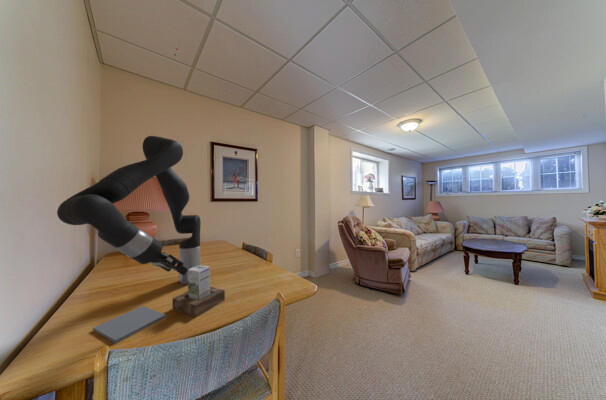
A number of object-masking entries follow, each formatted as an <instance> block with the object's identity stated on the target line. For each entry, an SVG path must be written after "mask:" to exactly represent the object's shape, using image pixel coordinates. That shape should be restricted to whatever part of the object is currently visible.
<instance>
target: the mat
mask: <svg viewBox="0 0 606 400" xmlns="http://www.w3.org/2000/svg"><path fill="white" fill-rule="evenodd" d="M163 319H167V314H165V313H162V312H160V311H157V310H155V309H152V308H149V307H147V306H145V305H143V306H140V307H138V308H135V309H133V310H130V311H129V312H126V313H123V314H122V315H119V316H117V317H114V318H112V319H109V320H107V321H105V322H102V323H100V324H97V325H95V326H93V327H92V331H93V330H94V331H96V332H98V333H99V334H101V335H103V336H104V337H106V338H107V339H106V338H105V339H106V340H108V339H109V340H110V342H111V341H112V342H111V343H113V344H115V345H116V344H118V343H120V342H122V341H123V339H124V340H125V338H126V339H127V338H130V337H131V336H133V335H135V334H137V333H139V332H140V331H143V330H145V329H147V328H149V327H151V326H152V325H154V324H156V323H158V322H160V321H162V320H163ZM94 331H93V332H94ZM96 332H95V333H96ZM98 333H97V334H98ZM99 334H98V335H99ZM101 335H100V336H101ZM103 336H102V337H103ZM104 337H103V338H104ZM109 340H108V341H109Z"/></svg>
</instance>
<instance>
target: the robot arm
mask: <svg viewBox="0 0 606 400" xmlns="http://www.w3.org/2000/svg"><path fill="white" fill-rule="evenodd" d="M142 151H143V155H144V157H145V159H144V160H141V161H137V162H134V163H129V164H127V165H124V166H121V167H119V168H117V169H115V170H114V171H111V173H109V174H107V175H106V176H104V177H102V178H101V179H100V180H99V181H98V182H96V183H95V184H92V185H91V186H89V187H87V188H85V189H83V190H81V191H79V192H77V193H75V194H73V195H72V196H70V197H68V198H67V199H65V200H63V202H62V203H60V205H59V206H58V208H57V210H56V211H57V212H56V215H57V217H58V219H59V220H60V221H61V222H63V223H65V224H66V225H70V226H81V225H87V224H88V225H89V226H92V227H93V228H95V229H96V230H97V231H98V232H97V234H98V237H99V238H100V239H101V240H103V241H104V242H105V243H107V244H109V245H111V246H112V247H114V248H115V249H117V250H118V251H119V252H120V253H122V254H124V256H127V257H128V258H130V259H131V260H134V261H135V262H137V263H139V264H141V265H147V264H149V263H150V264H151V265H152V266H155V267H158V268H161V269H163V270H164V271H166V272H168V273H169V272H171V270H173V271H176V272H177V273H178V282H179V283H180V284H183V285H188V269H190V268H192V267H195V266H198V265H201V217H200V215H199V214H198V215H197V214H189V215H184V214H183V211H184V209H185V208H186V206H187V204H188V203H189V201H190V194H189V189H188V186H187V184H186V183H185V182H184V180H183V179H182V178H181V177H180V176H179V175H178V174H177V172H175V171H174V169H172V167H174V166H175V165H177V164H178V163H179V162H180V161H181V160H182V158H183V156H184V155H183V154H184V148H183V146H182V144H181V143H180V142H178V141H177V140H175V139H171V138H166V137H161V136H156V135H148V136H146V137H145V138H144V140H143V141H142ZM154 177H155V178H156V180H157V181H158V184H159V187H160V189H161V192H162V194H163V198H164V199H165V202H166V203H167V207H168V209H169V212H170V214H171V217H172V221H173V225H174V229H175V231H176V232H177V233H178V234H181V235H182V234H183V235H185V234H191V235H190V237H188V238H187V239H184V240H181V241H179V243H178V246H179V248H178V249H179V250H178V251H179V253H178V254H179V259H178V258H177V257H175V256H174V255H172V254H168V253H167V252H164V251H162V250H163V243H161V242H160V241H159V240H157V239H156V238H155V237H153V236H151V235H150V234H149V233H148V232H146V231H144V230H143V229H140V228H139V227H137V226H136V225H134V224H133V223H131V221H129V220H127V219H126V218H125V216H124V215H123V214H122V213H121V212H120V210H119V209H118V208H117V207H116V206H115V204H116V203H118V202H121V201H122V200H124V199H126V198H127V197H128V196H129V195H130V194H131V193H133V192H134V191H135V190H137V189H138V188H139V187H141V186H142V185H143V184H144V183H146V182H147V181H149V180H150V179H153V178H154Z"/></svg>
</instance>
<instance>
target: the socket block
mask: <svg viewBox="0 0 606 400" xmlns="http://www.w3.org/2000/svg"><path fill="white" fill-rule="evenodd" d="M225 295H226V291H225V290H224V289H223V288H217V287H213V286H210V295H208V296H206V297H204V298H202V299H200V300H198V301H196V300H193V299H189V297H188V291H186V292H183V293H181V294H178V295H177V296H175V297H172V309H173V310H174V311H177V312H181V313H184V314H186V315H188V316H192V317H194V318H197V317H199V316H200V315H201V314H204V313H205V312H207V311H209V310H210V309H212V308H213V307H215V306H217V305H219V304H221V303H222V302H224V301H225V300H226V297H225Z"/></svg>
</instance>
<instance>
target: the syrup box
mask: <svg viewBox="0 0 606 400" xmlns="http://www.w3.org/2000/svg"><path fill="white" fill-rule="evenodd" d="M210 269H211V268H210V266H209V265H208V266H207V265H201V264H200V265H198V266H195V267H192V268H190V269H188V284H187V290H188V297H189V299H193V300H196V301H198V300H200V299H202V298H204V297H206V296H208V295H210V287H211V271H210Z"/></svg>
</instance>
